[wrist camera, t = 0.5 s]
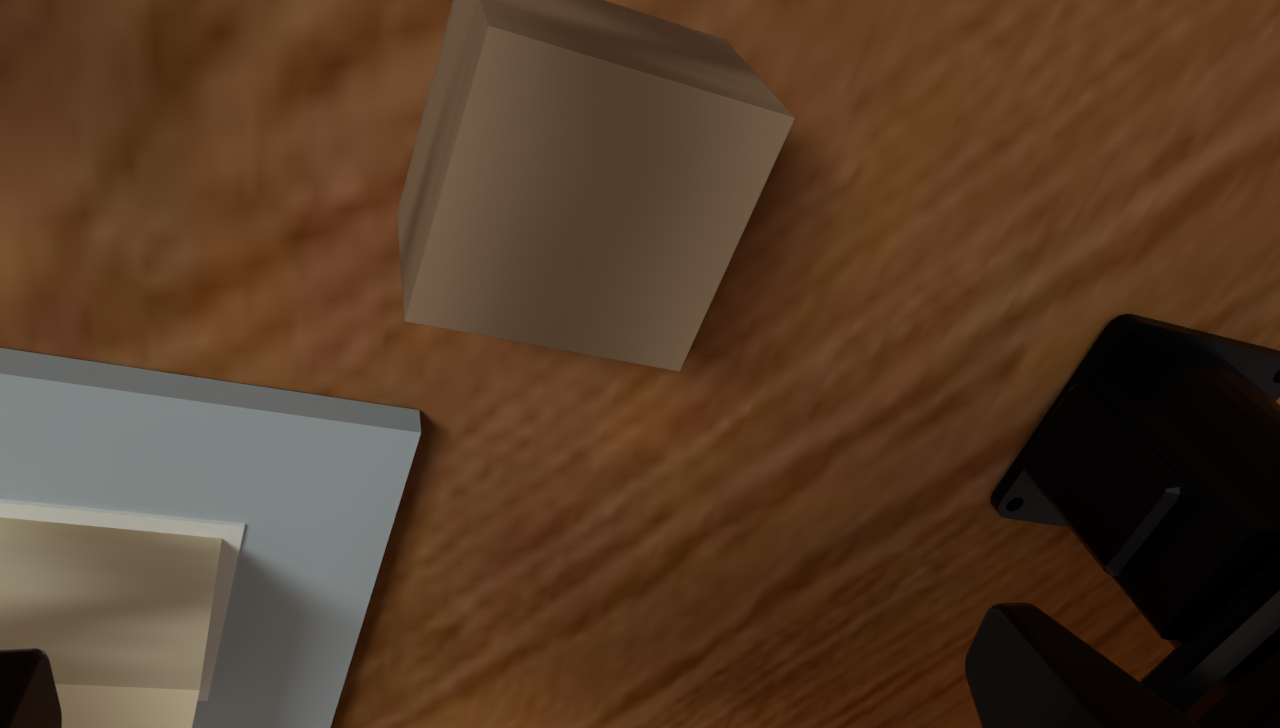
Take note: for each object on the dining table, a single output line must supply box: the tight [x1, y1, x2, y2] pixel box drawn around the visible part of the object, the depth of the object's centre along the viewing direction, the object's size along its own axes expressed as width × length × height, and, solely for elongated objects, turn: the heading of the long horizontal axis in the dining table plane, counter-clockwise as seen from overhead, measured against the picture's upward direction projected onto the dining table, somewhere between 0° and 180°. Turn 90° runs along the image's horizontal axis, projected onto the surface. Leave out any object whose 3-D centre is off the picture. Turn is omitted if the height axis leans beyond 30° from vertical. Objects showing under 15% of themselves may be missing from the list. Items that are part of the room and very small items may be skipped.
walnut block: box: [397, 0, 795, 372], centre depth 18 cm, size 5×5×4 cm
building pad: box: [0, 348, 421, 728], centre depth 23 cm, size 12×12×1 cm
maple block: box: [0, 517, 222, 728], centre depth 21 cm, size 5×5×4 cm
